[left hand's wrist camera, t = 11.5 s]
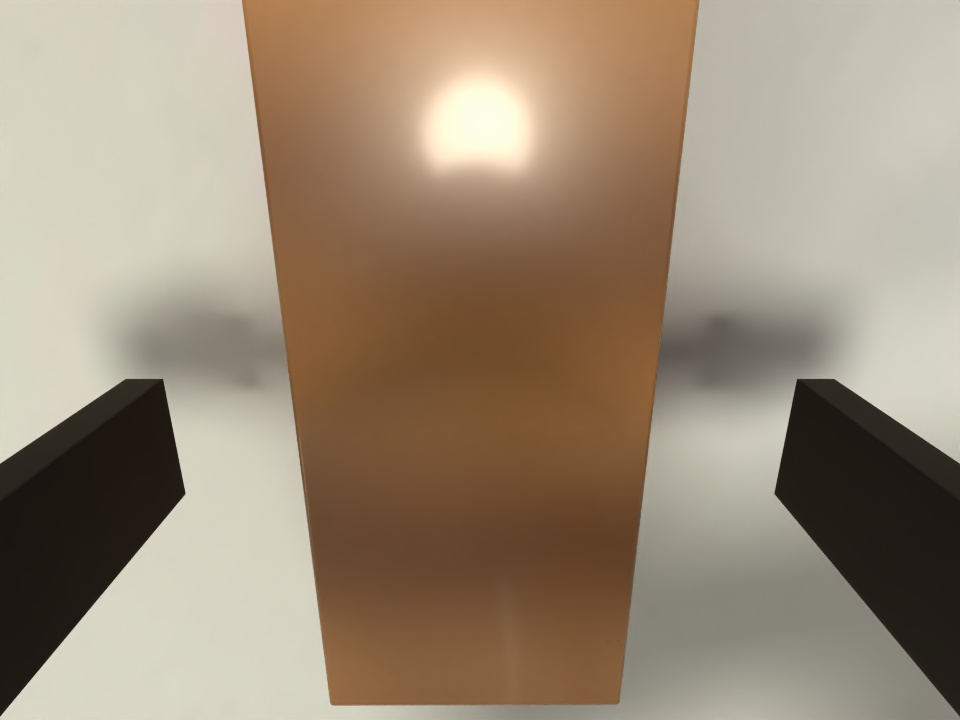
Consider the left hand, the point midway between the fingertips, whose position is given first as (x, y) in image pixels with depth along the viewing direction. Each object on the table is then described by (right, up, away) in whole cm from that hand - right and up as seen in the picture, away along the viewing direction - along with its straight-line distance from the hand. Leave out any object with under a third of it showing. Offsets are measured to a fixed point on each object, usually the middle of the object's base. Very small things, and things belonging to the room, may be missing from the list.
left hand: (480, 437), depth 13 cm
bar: (0, +24, -4) cm, 24 cm away
